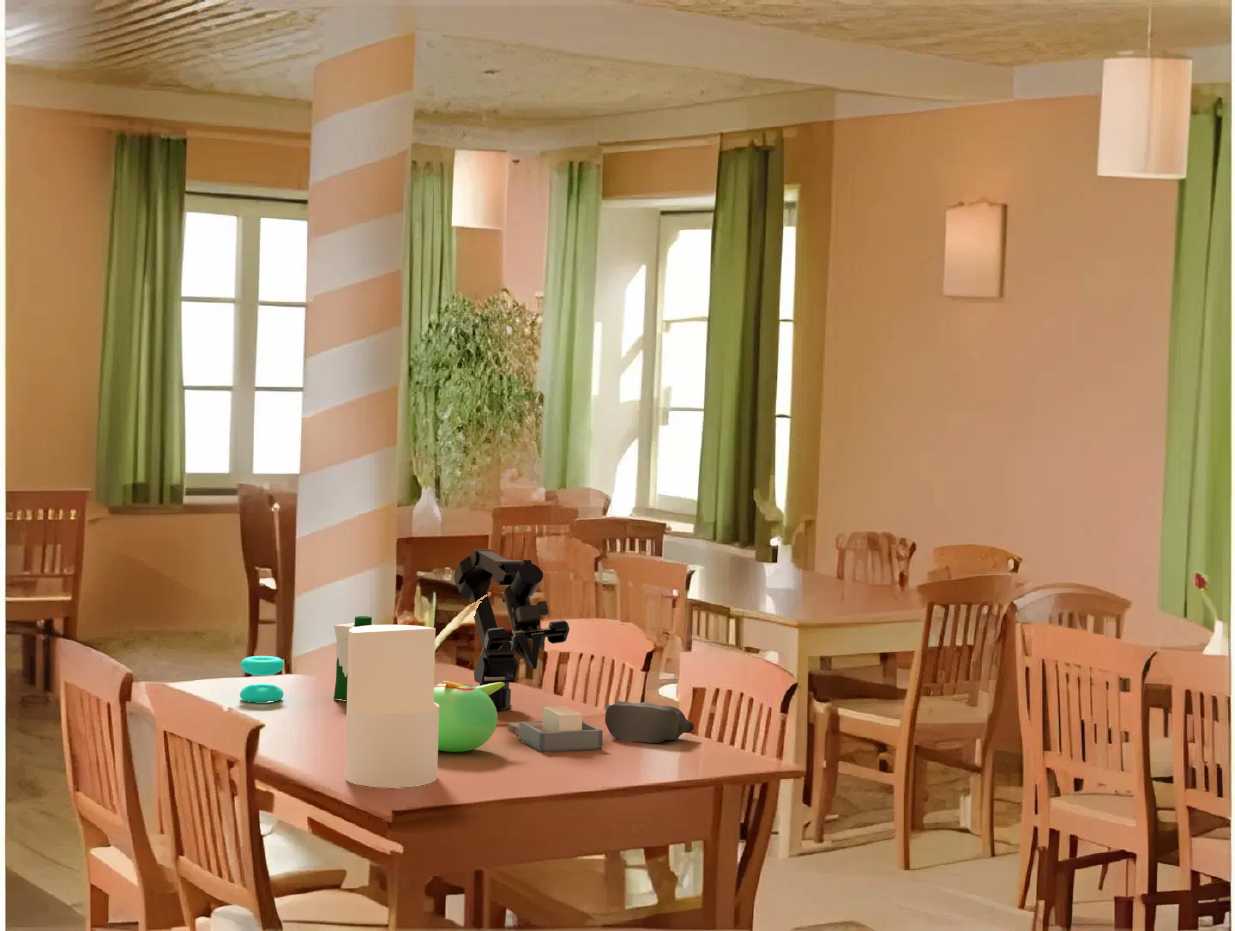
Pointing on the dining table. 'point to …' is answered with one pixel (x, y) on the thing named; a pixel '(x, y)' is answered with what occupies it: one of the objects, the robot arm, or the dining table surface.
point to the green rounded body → (465, 715)
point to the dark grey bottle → (645, 722)
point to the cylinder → (391, 706)
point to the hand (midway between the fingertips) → (534, 668)
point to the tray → (561, 738)
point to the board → (514, 726)
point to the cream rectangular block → (561, 719)
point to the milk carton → (345, 654)
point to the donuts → (261, 667)
